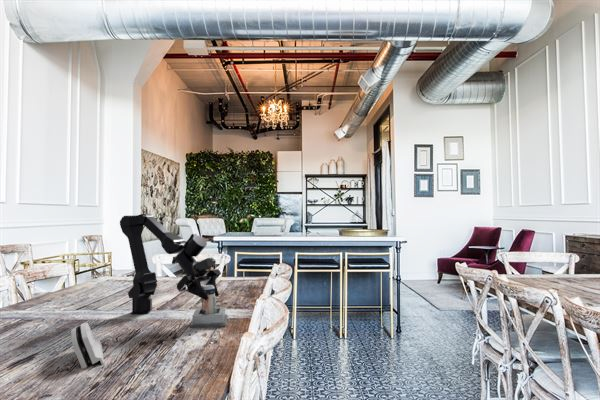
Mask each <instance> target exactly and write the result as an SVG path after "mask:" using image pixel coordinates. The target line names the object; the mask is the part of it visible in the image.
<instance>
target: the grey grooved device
mask: <svg viewBox="0 0 600 400" xmlns="http://www.w3.org/2000/svg"><path fill="white" fill-rule="evenodd" d="M70 338H71V345H72V348H73V350H74V352H75V355H76V357H77V360H78V362H79V365H80V367H81V369H86V368H88V365H89V364H92V365H94V364H96V363H98V362H99V361H100V365H101V366H105V360H104V353H103V345H102V341H101V340H99V339H95V337H94V334H93V332H92V329H91V327H90V325H89V323H88V322H84V323H81V324H80V325H79V326H77V325H76V326H75V327H73V328H72V329H71V331H70Z"/></svg>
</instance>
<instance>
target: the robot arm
mask: <svg viewBox="0 0 600 400" xmlns="http://www.w3.org/2000/svg"><path fill="white" fill-rule="evenodd" d="M119 225H120V230H121V231H122V233H123V234H124V235H125V236H126V238H127V240H128V243H129V244H128V245H129V248H130V253H131V258H132V263H133V267H134V272H135V274H134V276H133V279H132V287H131V288H130V289H129V290H128V292H127V297H128V298H129V299H132V300H131V307H132V308H131V310H132V311H131V312H130V315H136V314H137V315H139V314H141V315H143V314H144V315H145V314H148V313H150V312H151V311H152V310H153V299H152V297H151V296H154V295H155V292H156V288H157V287H158V279H157V276H156V272H154V271H153V272H152V271H151V270H150V269H149V265H148V260H147V256H146V252H145V247H144V243H143V237H142V234H143V232H144V231H143V230H144V227H145V228H146V229H147V230H148V231H149V232H151V233H152V234H153V236H155V237H156V238H157V239H158V240H159V241H160V245H161V247H162V249H163V250H164V251H165V253H166V254H168V255H173V254H175V256H173V257H172V260H171V264H172V265H175V264H176V265H177V264H178V266H179V267H180V268H181V269H182V272H181V274H182V275H183V276H182V277H181V279H180V280H179V281H178V282H177V283H176V289H177V290H178V292H179V293H180V292H186V293H190V294H192V295H195V296H196V297H198V298H200V299H201V298H202V299H204V300H207V299H208V297H207V295H206V293H205V291H204V290H203V288H202V283H201V282H203V283H204V285H213V286H214V287H215V298H217V297H219V295H220V293H219V291H218V287H217V283H216V280H217V279H218V278H219V277H220V276H221V274H222V272H221V271H220V270H219V269H218V268H214V267H215V265H216V259H215V258H214V257H213V256H209V257H207V258H205V259H203V260H200V261H199V260H198V261H197V260H196V259H195V257H198V256H199V255H200V254H201V253H202V251H203V250H204V249H205V248H206V247H207V245H208V242H207V241H206V240H205V238H203V237H201V236H200V235H198V234H197V233H191V235H190V237H188V239H187V241H186V240H185V239H184V238H183V237H182V236H179V234H178V235H177V234H175V233H172V232H170V231H169V230H168V229H167V228H166V227H165V226H164V225H163V224H162V223H161V222H160V221H158V219H156V217H155V216H154V215H153V214H152V213H141V214H137V215H123V216H122V218H121V219H120V220H119ZM211 268H214V269H211ZM208 269H211V270H208Z"/></svg>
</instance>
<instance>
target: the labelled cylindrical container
mask: <svg viewBox="0 0 600 400" xmlns="http://www.w3.org/2000/svg"><path fill="white" fill-rule="evenodd" d="M201 287H202V288H203V290H204V291H205V293H206V295H207V297H208V299H207V300H204V299H202V298H200V299H201V308H202V314H214V313H216V307H217V306H216V296H215V287H214V286H213V285H205V284H204V285H201Z"/></svg>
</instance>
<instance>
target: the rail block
mask: <svg viewBox="0 0 600 400" xmlns="http://www.w3.org/2000/svg"><path fill="white" fill-rule="evenodd" d="M215 307H216V313H214V314H202V307H196V309H195V310H194V312H193V314H192V321H191V323H190V325H189V329H200V328H201V329H202V328H203V329H204V328H221V327H224V328H225V327H227V323H228V321H227V320H228V314H226V306H221V307H220V306H219V307H217V306H215Z"/></svg>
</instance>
